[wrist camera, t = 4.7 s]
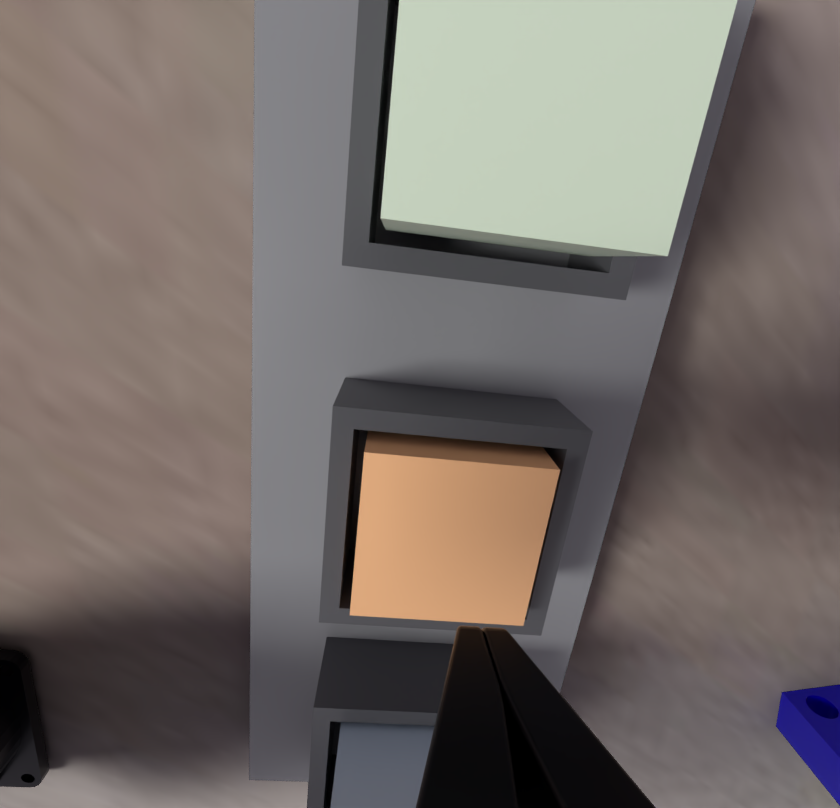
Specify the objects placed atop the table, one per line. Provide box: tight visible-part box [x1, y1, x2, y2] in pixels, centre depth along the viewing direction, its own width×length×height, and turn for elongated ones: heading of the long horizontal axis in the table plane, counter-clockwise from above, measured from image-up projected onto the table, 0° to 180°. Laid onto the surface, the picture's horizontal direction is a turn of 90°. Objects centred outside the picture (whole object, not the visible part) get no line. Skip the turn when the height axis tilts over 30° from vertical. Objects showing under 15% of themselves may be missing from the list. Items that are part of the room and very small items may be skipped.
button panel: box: [249, 0, 756, 808], centre depth 13 cm, size 26×11×4 cm, turn 173°
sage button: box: [381, 0, 737, 256], centre depth 7 cm, size 4×4×3 cm
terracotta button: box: [350, 431, 560, 626], centre depth 12 cm, size 4×4×3 cm
